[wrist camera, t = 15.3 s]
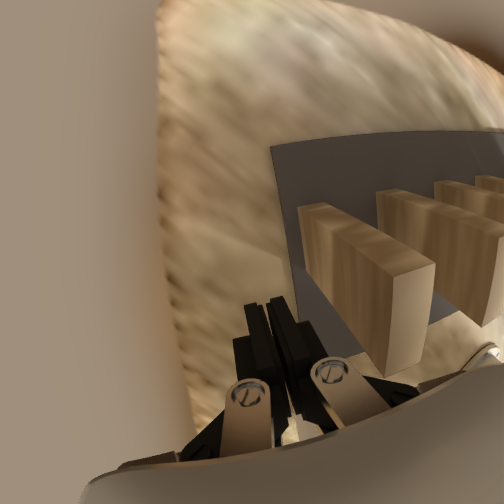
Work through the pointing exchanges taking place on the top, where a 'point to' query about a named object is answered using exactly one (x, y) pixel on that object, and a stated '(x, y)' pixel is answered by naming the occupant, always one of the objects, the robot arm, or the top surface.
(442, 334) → the top surface
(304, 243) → the domino
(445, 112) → the top surface
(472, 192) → the domino
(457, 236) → the domino
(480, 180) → the domino
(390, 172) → the mat
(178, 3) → the top surface
